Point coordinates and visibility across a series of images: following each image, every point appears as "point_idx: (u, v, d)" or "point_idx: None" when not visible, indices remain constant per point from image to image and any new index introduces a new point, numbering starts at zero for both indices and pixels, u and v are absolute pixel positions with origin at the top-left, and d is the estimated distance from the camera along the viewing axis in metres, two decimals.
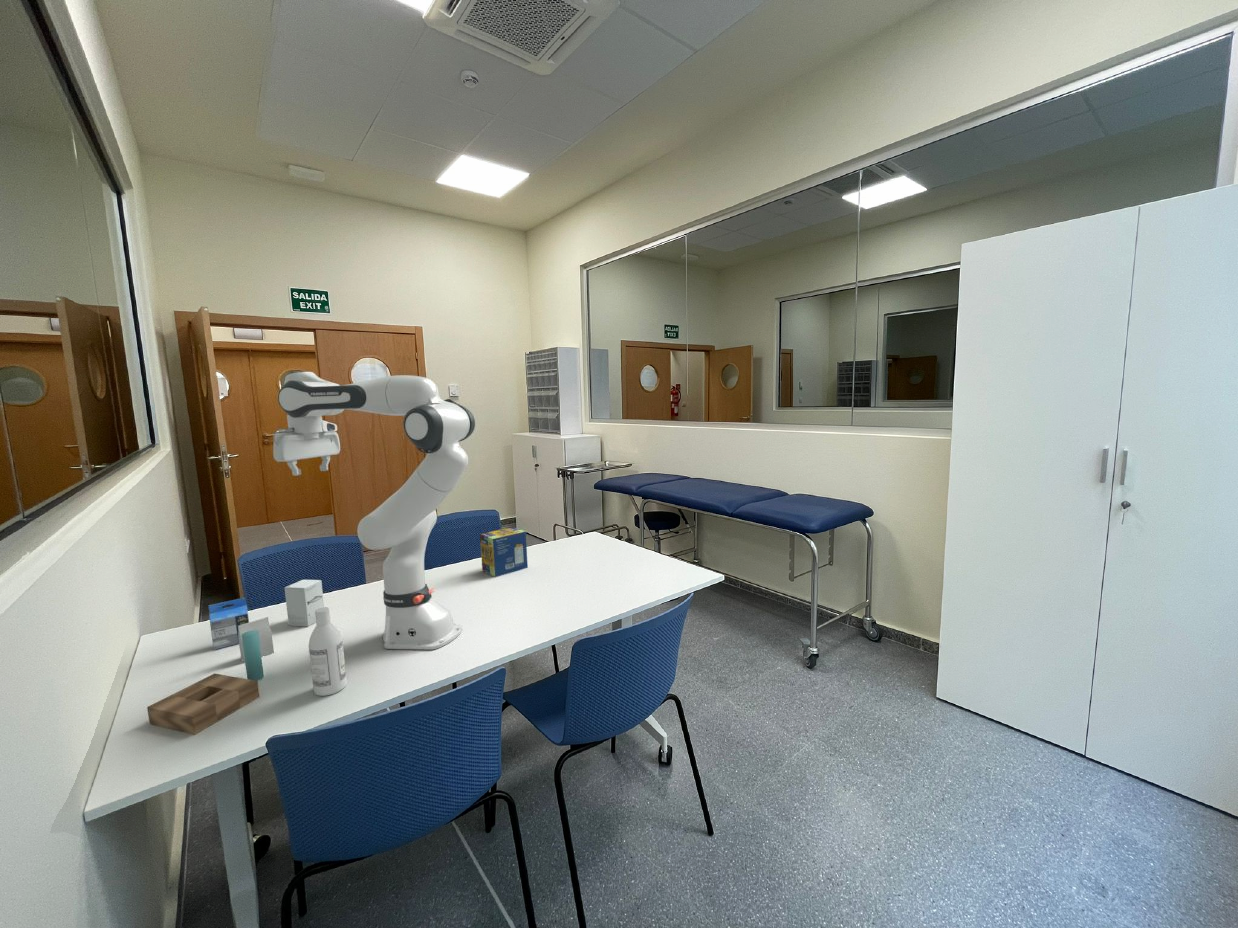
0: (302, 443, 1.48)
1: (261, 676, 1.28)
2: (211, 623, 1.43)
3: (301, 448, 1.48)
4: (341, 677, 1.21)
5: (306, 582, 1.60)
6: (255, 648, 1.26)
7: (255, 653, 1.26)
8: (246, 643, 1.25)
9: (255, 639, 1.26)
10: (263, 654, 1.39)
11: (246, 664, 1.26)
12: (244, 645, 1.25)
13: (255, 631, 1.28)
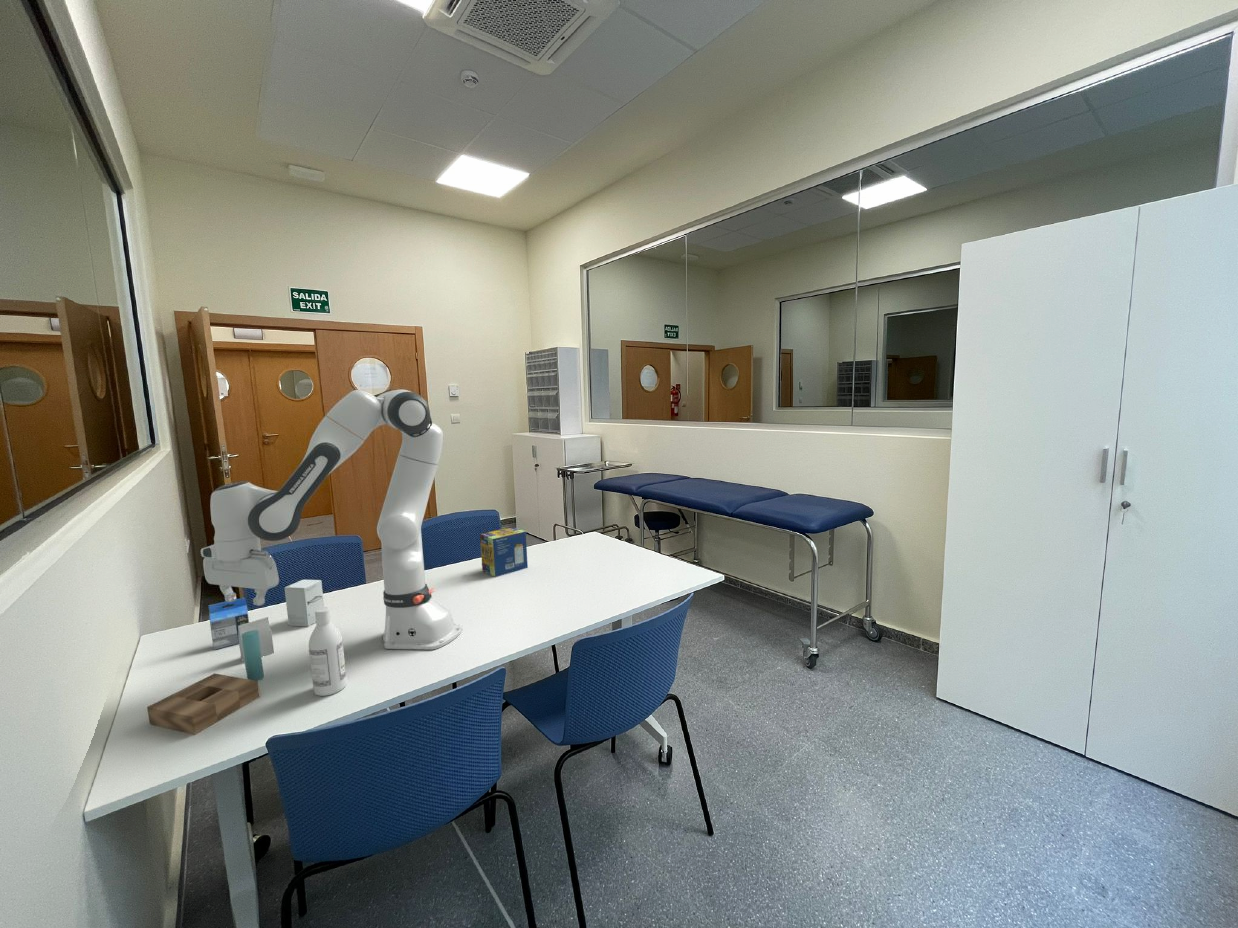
0: None
1: (261, 676, 1.28)
2: (211, 623, 1.43)
3: None
4: (341, 677, 1.21)
5: (306, 582, 1.60)
6: (255, 648, 1.26)
7: (255, 653, 1.26)
8: (246, 643, 1.25)
9: (255, 639, 1.26)
10: (263, 654, 1.39)
11: (246, 664, 1.26)
12: (244, 645, 1.25)
13: (255, 631, 1.28)
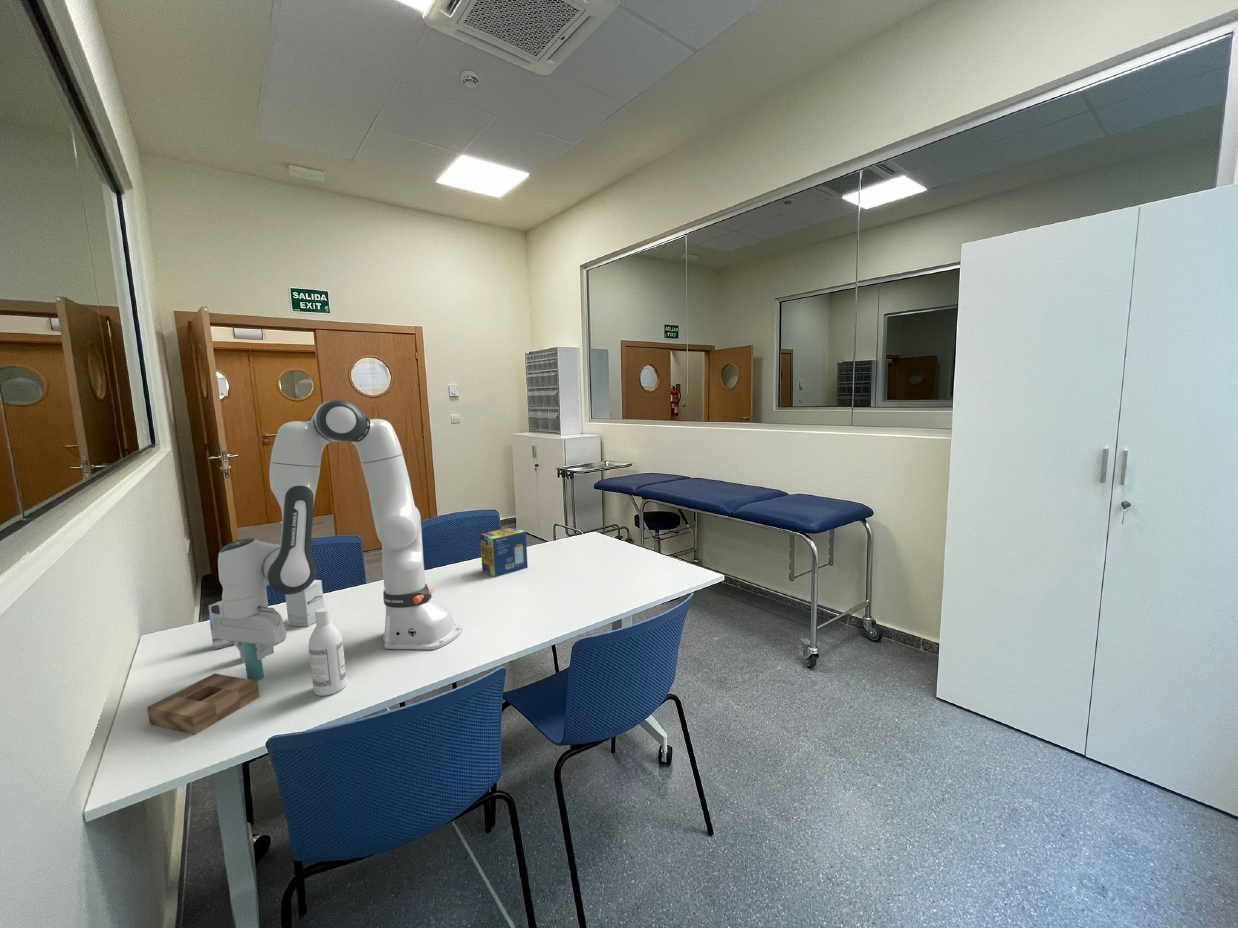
0: None
1: (261, 676, 1.28)
2: (211, 623, 1.43)
3: None
4: (341, 677, 1.21)
5: None
6: (255, 648, 1.26)
7: None
8: (246, 643, 1.25)
9: None
10: None
11: (246, 664, 1.26)
12: (244, 645, 1.25)
13: None
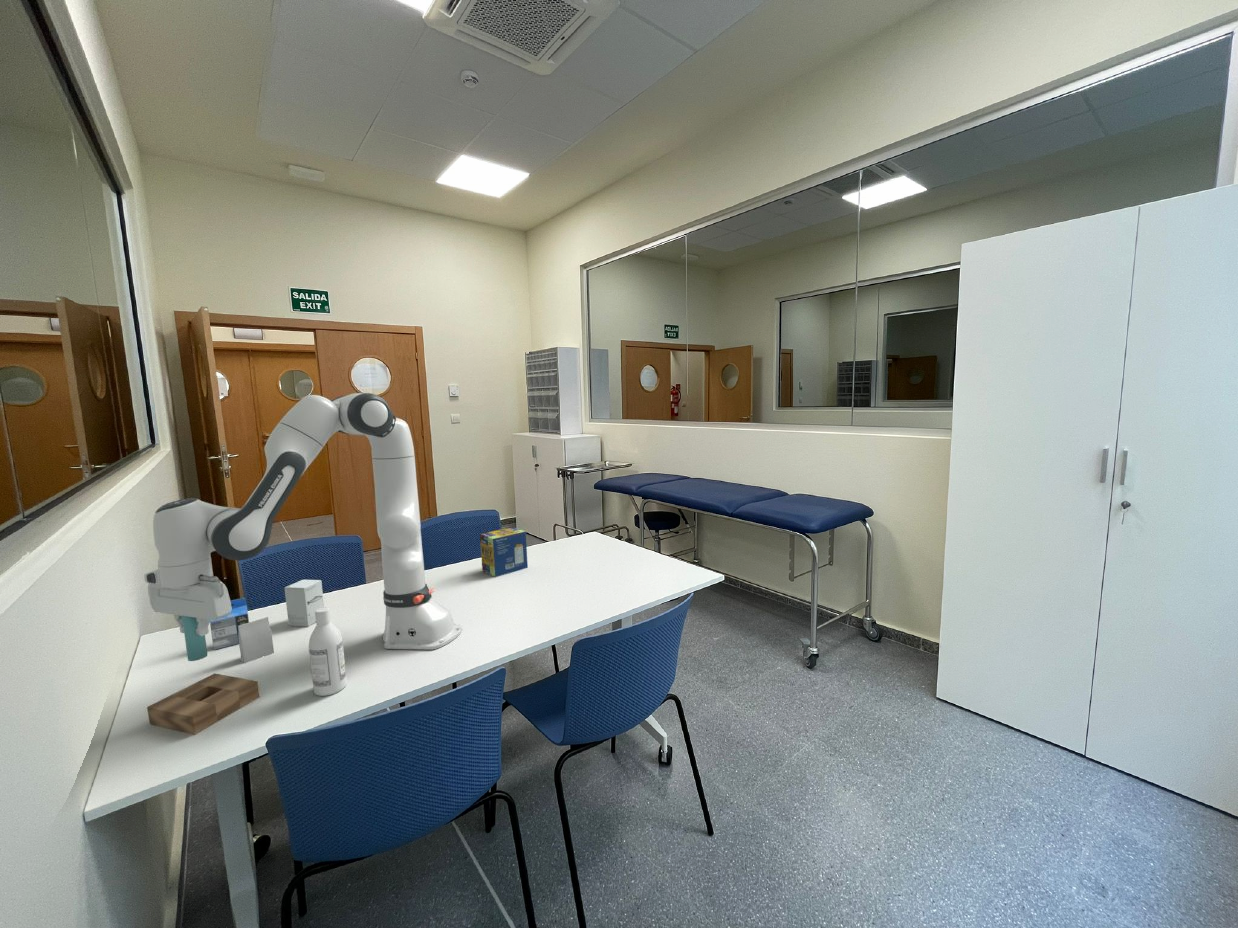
0: None
1: (204, 655, 1.13)
2: (211, 623, 1.43)
3: None
4: (341, 677, 1.21)
5: (306, 582, 1.60)
6: (197, 623, 1.12)
7: None
8: (186, 616, 1.11)
9: None
10: (263, 654, 1.39)
11: (186, 640, 1.11)
12: (184, 619, 1.11)
13: None
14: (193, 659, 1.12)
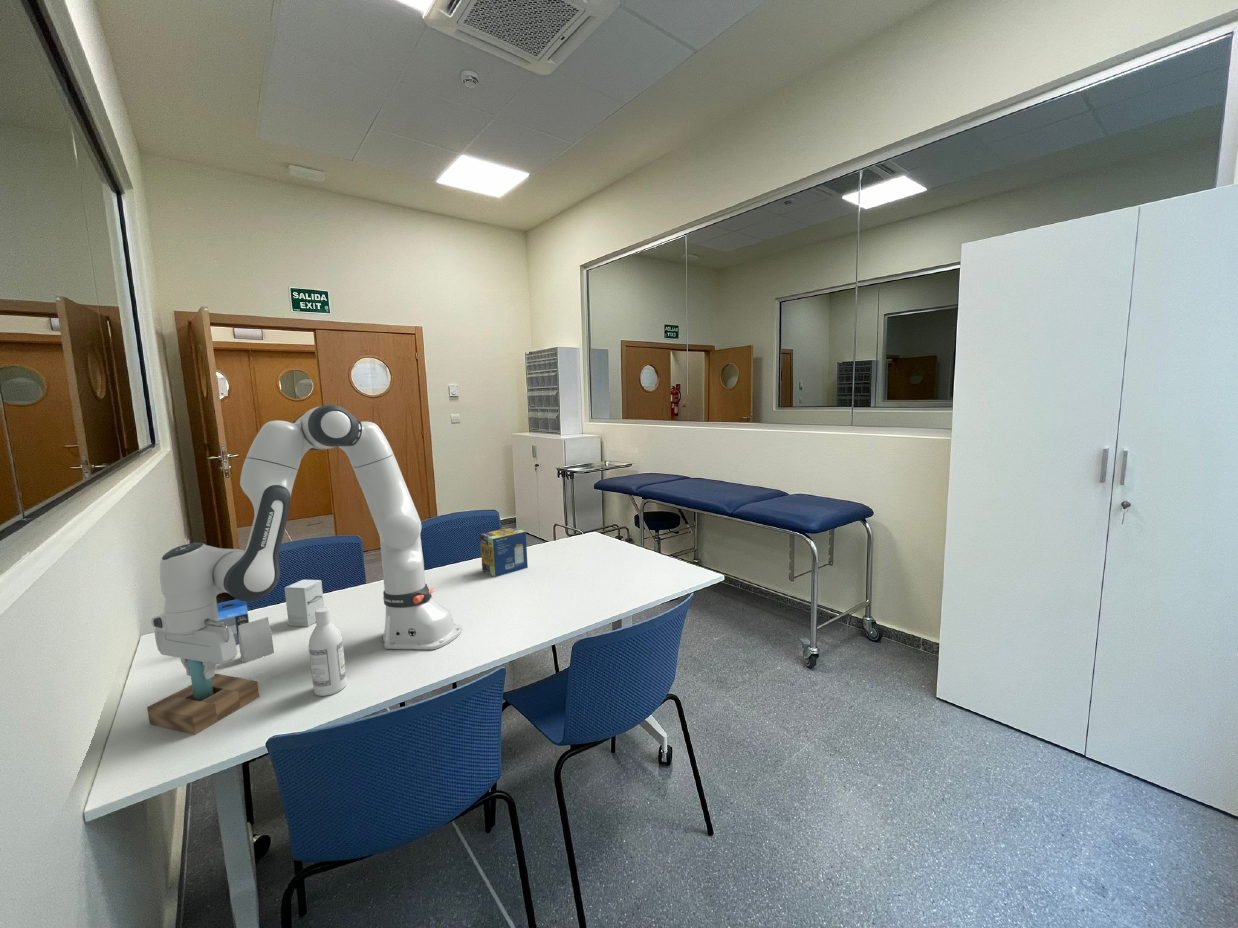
0: None
1: None
2: None
3: None
4: (341, 677, 1.21)
5: (306, 582, 1.60)
6: (203, 666, 1.13)
7: None
8: (192, 660, 1.12)
9: None
10: (263, 654, 1.39)
11: (192, 684, 1.13)
12: (190, 663, 1.12)
13: None
14: None
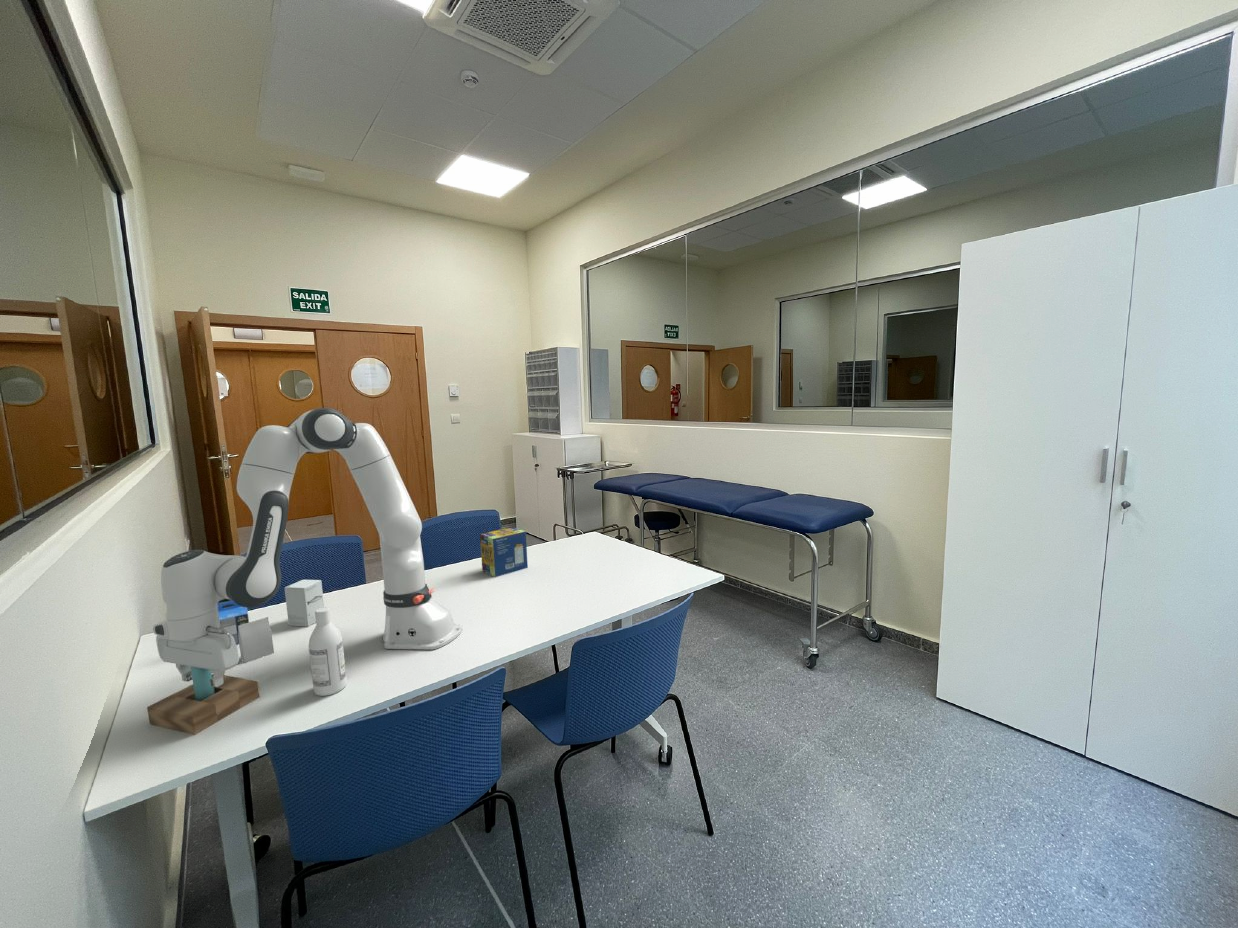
0: None
1: None
2: None
3: None
4: (341, 677, 1.21)
5: (306, 582, 1.60)
6: (206, 677, 1.13)
7: (206, 682, 1.13)
8: (195, 671, 1.12)
9: None
10: (263, 654, 1.39)
11: (195, 694, 1.13)
12: (193, 674, 1.12)
13: None
14: None
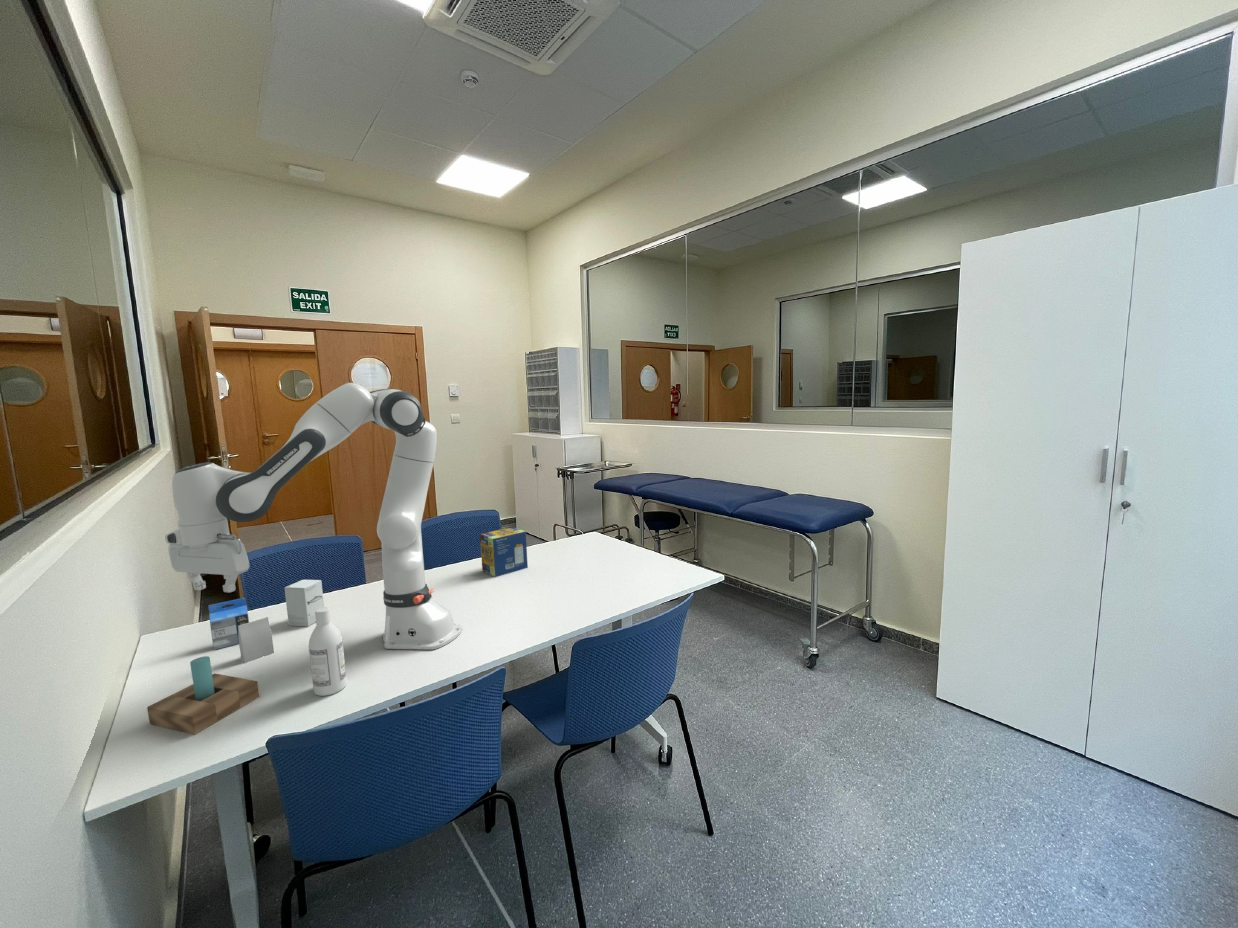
0: None
1: None
2: (211, 623, 1.43)
3: None
4: (341, 677, 1.21)
5: (306, 582, 1.60)
6: (206, 677, 1.13)
7: (206, 682, 1.13)
8: (195, 671, 1.12)
9: (206, 667, 1.13)
10: (263, 654, 1.39)
11: (196, 694, 1.13)
12: (193, 673, 1.12)
13: (206, 657, 1.15)
14: None
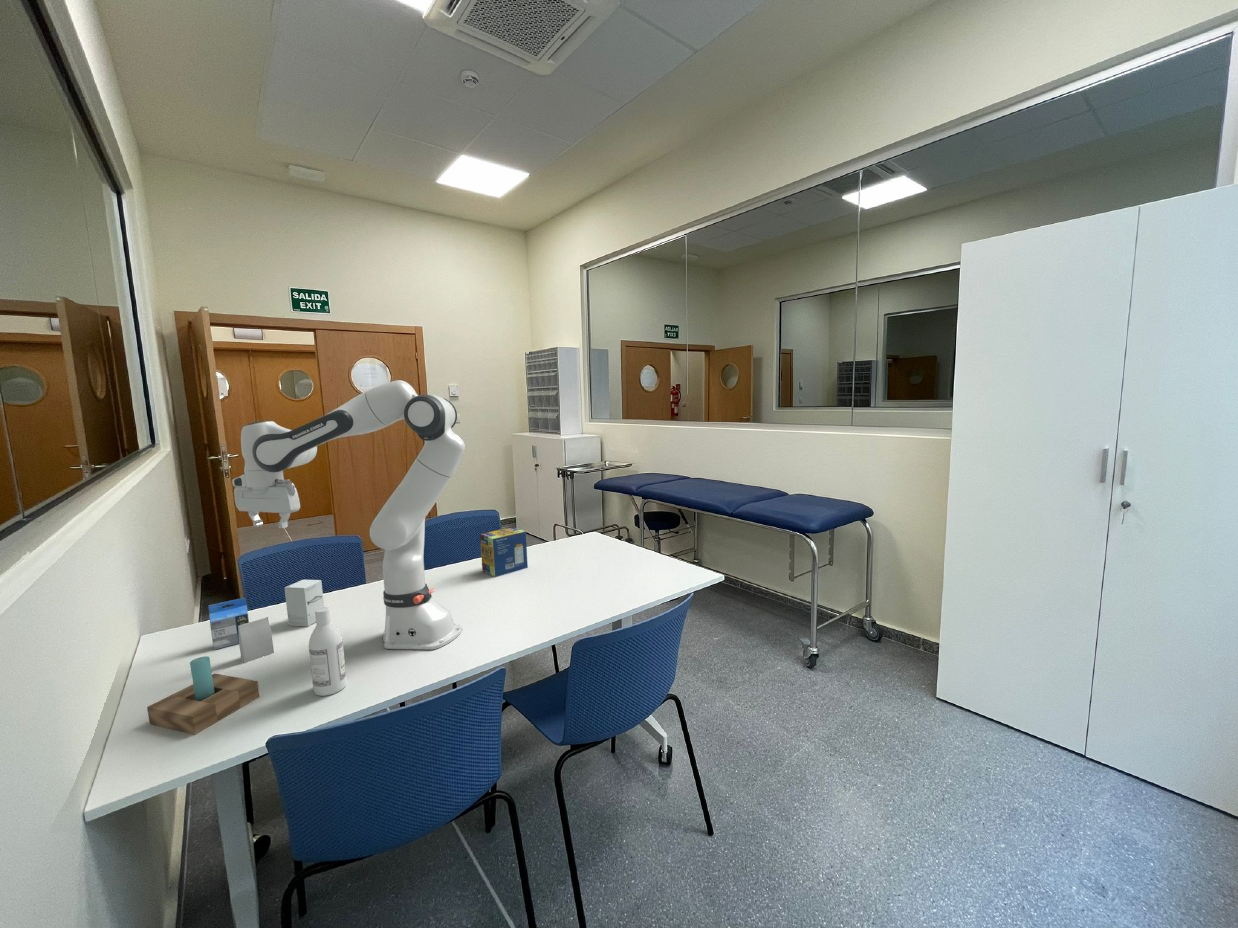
0: None
1: None
2: (211, 623, 1.43)
3: None
4: (341, 677, 1.21)
5: (306, 582, 1.60)
6: (206, 677, 1.13)
7: (206, 682, 1.13)
8: (195, 671, 1.12)
9: (206, 667, 1.13)
10: (263, 654, 1.39)
11: (195, 694, 1.13)
12: (193, 674, 1.12)
13: (206, 657, 1.15)
14: None
